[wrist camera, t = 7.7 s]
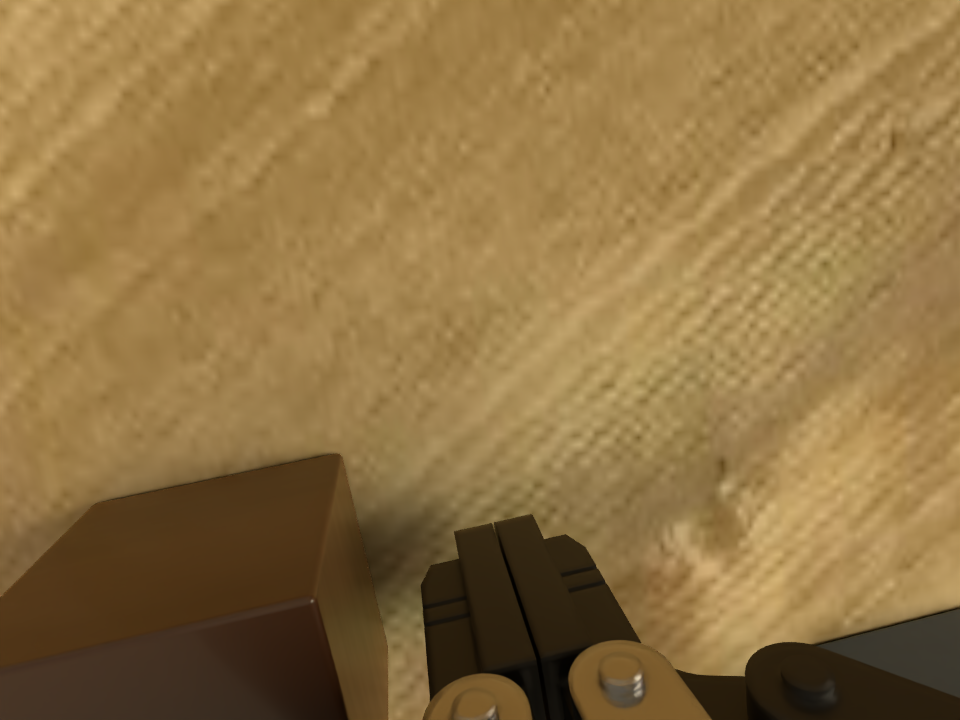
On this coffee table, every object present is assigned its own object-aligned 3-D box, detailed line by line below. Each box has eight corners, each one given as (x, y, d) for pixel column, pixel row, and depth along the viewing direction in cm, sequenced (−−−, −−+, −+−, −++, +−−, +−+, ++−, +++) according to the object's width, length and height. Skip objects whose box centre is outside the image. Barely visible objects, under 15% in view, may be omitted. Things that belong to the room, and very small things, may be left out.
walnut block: (92, 502, 11) (-104, 695, 6) (341, 450, 11) (314, 597, 7) (166, 702, 12) (41, 978, 8) (388, 647, 12) (390, 878, 8)
